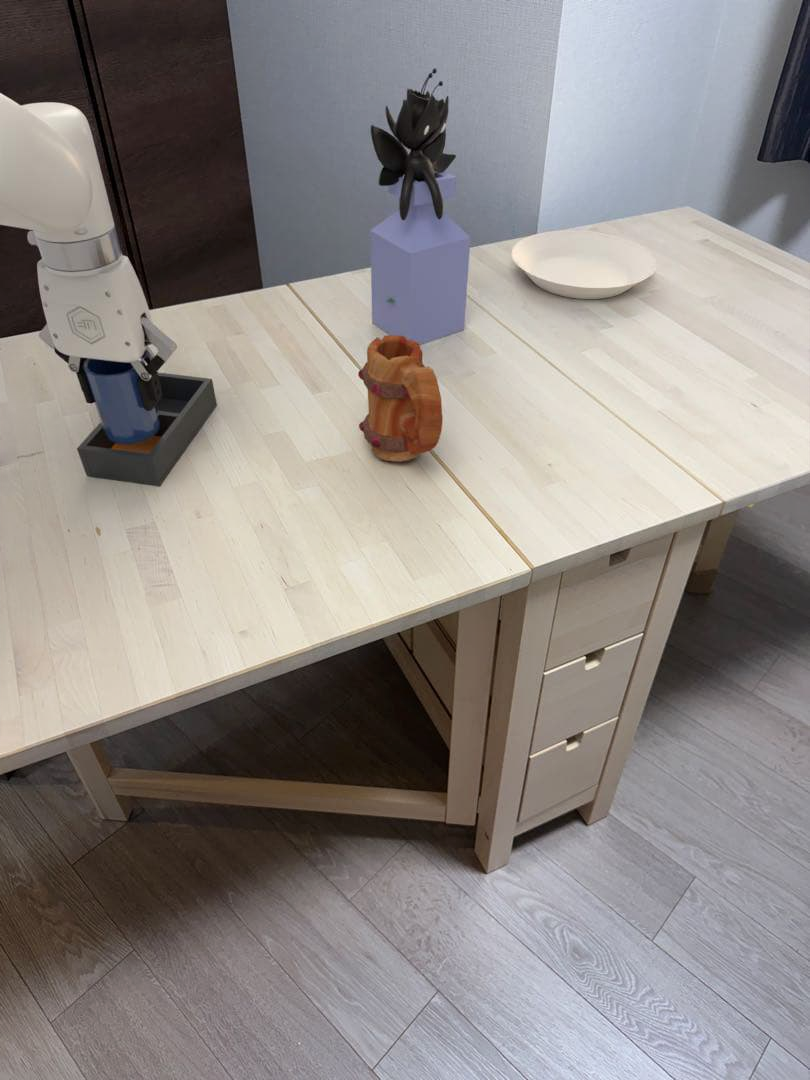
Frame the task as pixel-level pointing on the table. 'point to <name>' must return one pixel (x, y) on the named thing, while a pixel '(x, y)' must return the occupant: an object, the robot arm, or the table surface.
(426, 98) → the vase
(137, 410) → the cup
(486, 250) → the table surface
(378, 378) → the mug
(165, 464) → the holder
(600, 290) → the bowl
